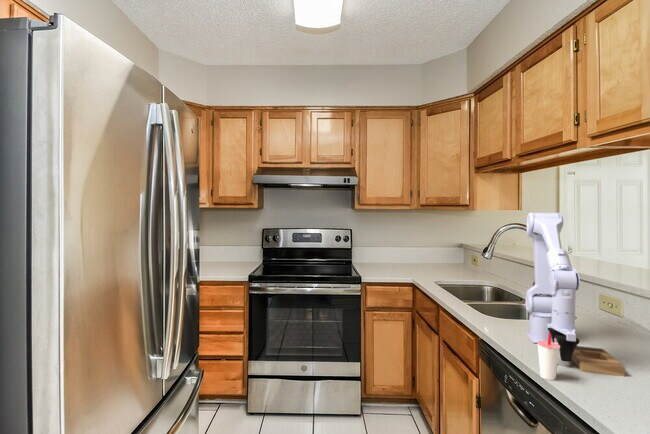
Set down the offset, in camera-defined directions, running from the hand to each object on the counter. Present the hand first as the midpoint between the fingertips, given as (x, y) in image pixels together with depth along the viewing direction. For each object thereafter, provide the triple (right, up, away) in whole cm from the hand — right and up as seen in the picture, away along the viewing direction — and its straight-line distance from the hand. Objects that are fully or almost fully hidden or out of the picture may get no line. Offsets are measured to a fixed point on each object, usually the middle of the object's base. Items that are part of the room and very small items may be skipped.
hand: (562, 357), depth 104 cm
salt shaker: (0, -2, 0) cm, 2 cm away
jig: (+9, -2, 0) cm, 9 cm away
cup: (-10, -2, -8) cm, 13 cm away
